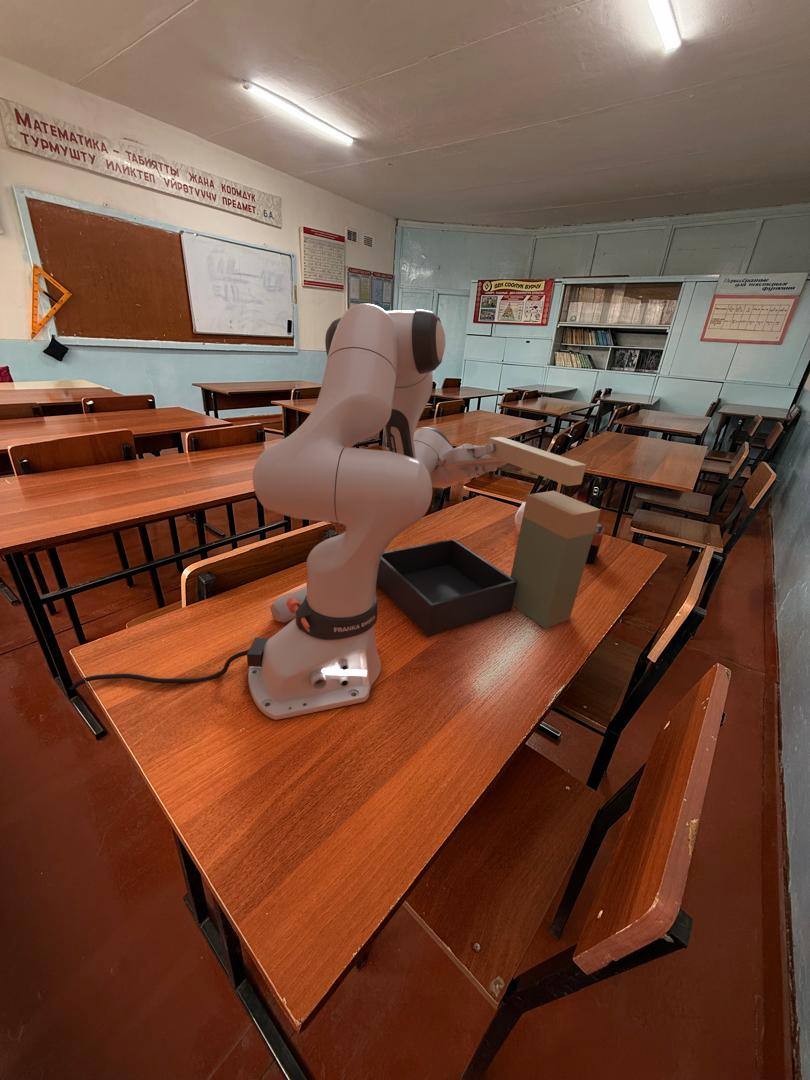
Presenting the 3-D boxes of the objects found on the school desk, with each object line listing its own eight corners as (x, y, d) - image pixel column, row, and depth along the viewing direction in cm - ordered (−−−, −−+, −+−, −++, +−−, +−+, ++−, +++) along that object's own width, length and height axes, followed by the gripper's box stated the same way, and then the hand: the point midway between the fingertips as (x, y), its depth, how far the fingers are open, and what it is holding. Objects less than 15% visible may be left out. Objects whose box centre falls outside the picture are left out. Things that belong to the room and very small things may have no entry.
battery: (597, 556, 127) (606, 524, 123) (593, 564, 122) (602, 532, 117) (581, 551, 129) (590, 520, 125) (577, 560, 123) (586, 528, 119)
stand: (544, 628, 92) (573, 514, 81) (505, 600, 101) (527, 494, 90) (569, 619, 96) (600, 509, 85) (530, 592, 105) (553, 490, 94)
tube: (281, 615, 83) (378, 574, 100) (267, 596, 85) (364, 559, 102) (278, 632, 86) (373, 589, 103) (264, 613, 89) (359, 575, 105)
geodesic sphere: (557, 541, 120) (570, 493, 122) (506, 529, 125) (520, 483, 127) (556, 554, 133) (568, 511, 136) (510, 542, 139) (522, 501, 141)
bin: (427, 637, 87) (431, 605, 83) (373, 581, 105) (375, 553, 101) (511, 610, 98) (517, 581, 94) (449, 564, 116) (453, 538, 112)
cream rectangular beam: (567, 486, 84) (572, 466, 82) (486, 454, 102) (489, 437, 100) (581, 484, 86) (586, 464, 84) (499, 453, 104) (502, 436, 102)
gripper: (430, 452, 107) (464, 435, 95) (493, 447, 117) (531, 431, 105) (435, 477, 107) (469, 463, 95) (498, 470, 117) (536, 457, 105)
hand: (502, 446), depth 100 cm, fingers closed on cream rectangular beam, 4 cm apart
